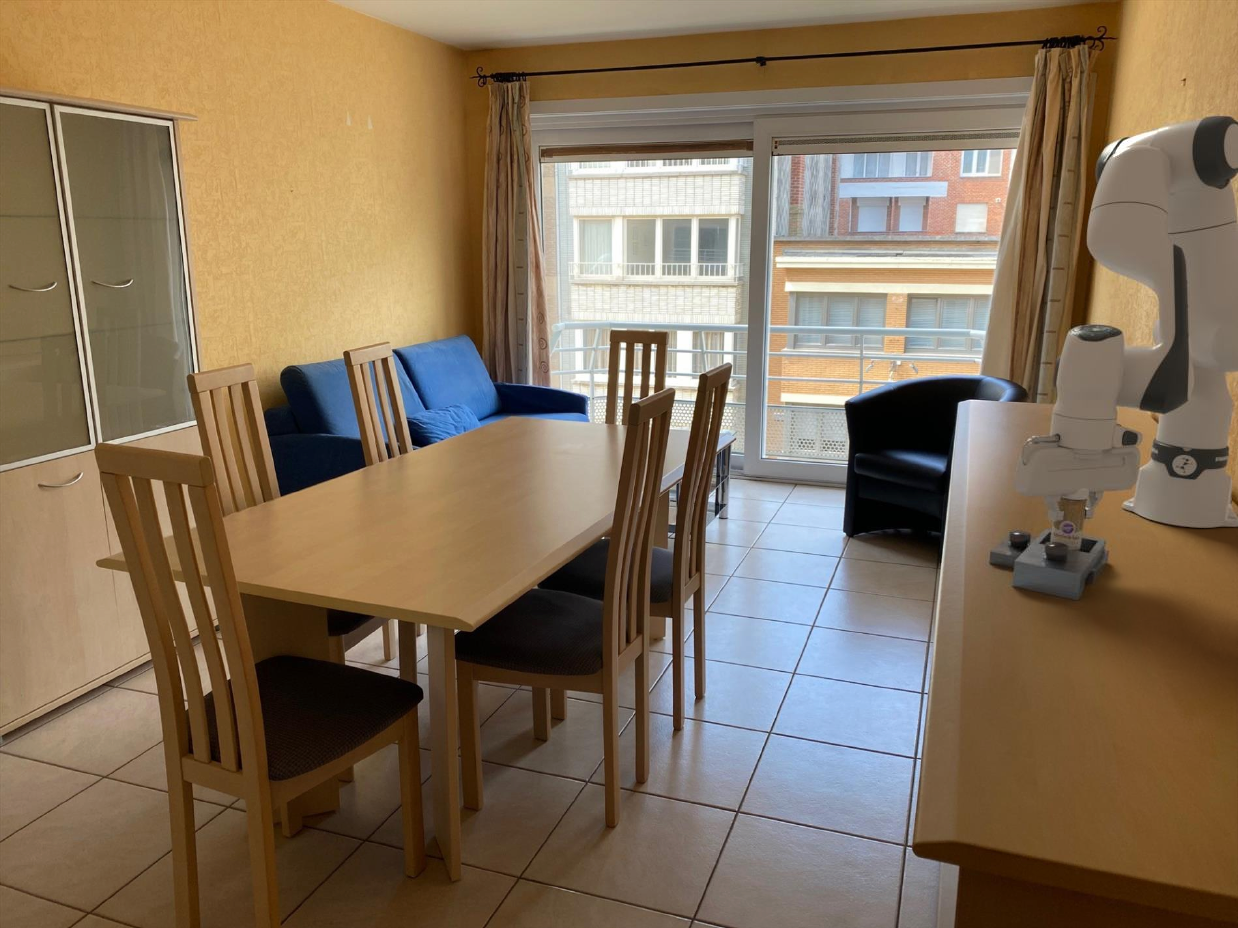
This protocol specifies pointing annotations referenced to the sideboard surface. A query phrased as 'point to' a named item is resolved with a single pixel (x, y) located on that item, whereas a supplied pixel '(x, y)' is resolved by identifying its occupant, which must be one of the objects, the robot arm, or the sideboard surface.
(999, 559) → the grey knobbed tray
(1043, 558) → the grey box with knob
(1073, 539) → the sprinkles bottle
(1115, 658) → the sideboard surface
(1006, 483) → the sideboard surface
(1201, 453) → the robot arm
